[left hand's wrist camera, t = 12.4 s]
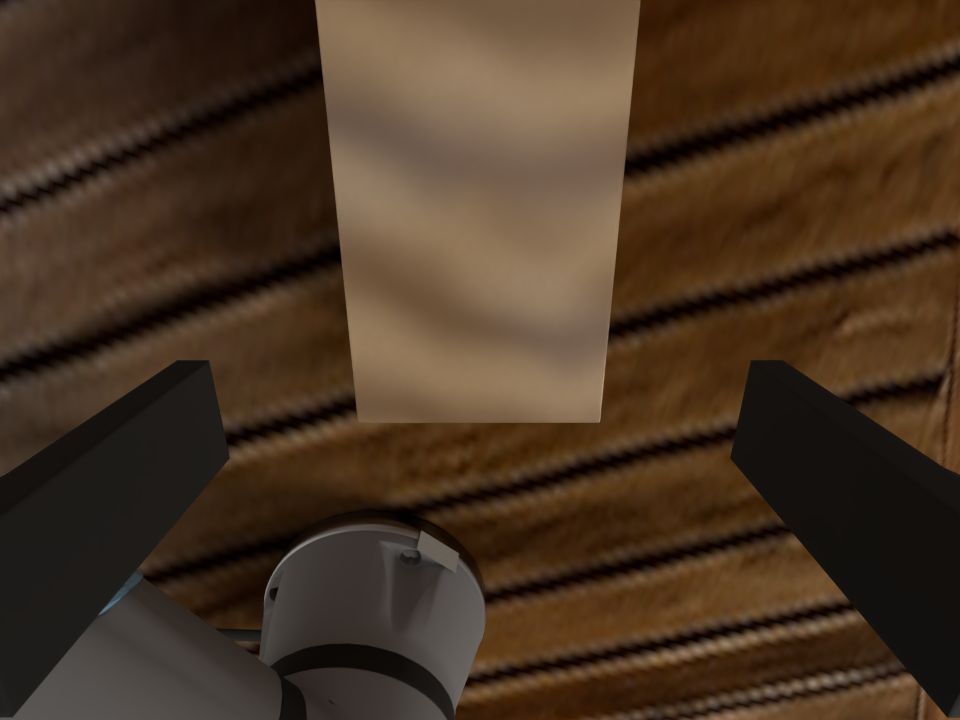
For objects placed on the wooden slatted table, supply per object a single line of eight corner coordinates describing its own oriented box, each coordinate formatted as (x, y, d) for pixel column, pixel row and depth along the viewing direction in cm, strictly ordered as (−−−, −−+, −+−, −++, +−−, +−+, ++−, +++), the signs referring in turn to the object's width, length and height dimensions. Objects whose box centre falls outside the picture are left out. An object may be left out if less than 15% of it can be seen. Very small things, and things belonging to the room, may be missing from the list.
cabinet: (362, -115, 22) (284, -298, 13) (593, -116, 22) (669, -299, 13) (393, 345, 30) (357, 423, 21) (564, 345, 30) (599, 422, 21)
